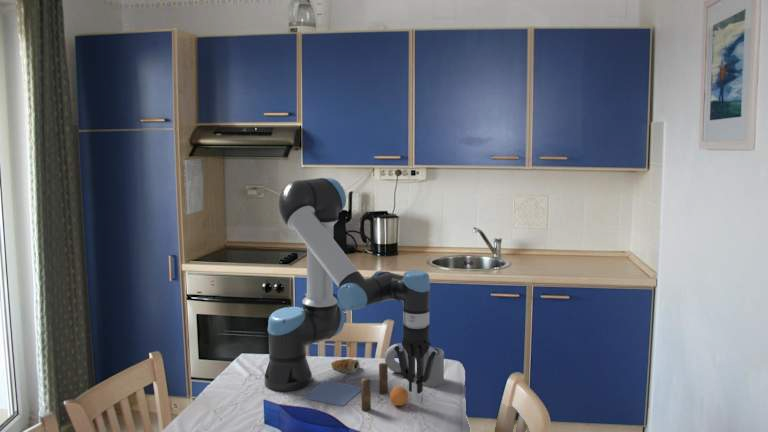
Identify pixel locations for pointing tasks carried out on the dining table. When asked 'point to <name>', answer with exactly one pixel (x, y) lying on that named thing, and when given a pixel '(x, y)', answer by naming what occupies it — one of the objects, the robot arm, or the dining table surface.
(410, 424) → the dining table surface
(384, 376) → the post
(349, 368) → the pastry
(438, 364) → the cup
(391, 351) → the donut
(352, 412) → the dining table surface
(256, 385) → the dining table surface
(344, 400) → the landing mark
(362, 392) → the post
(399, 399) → the ball
